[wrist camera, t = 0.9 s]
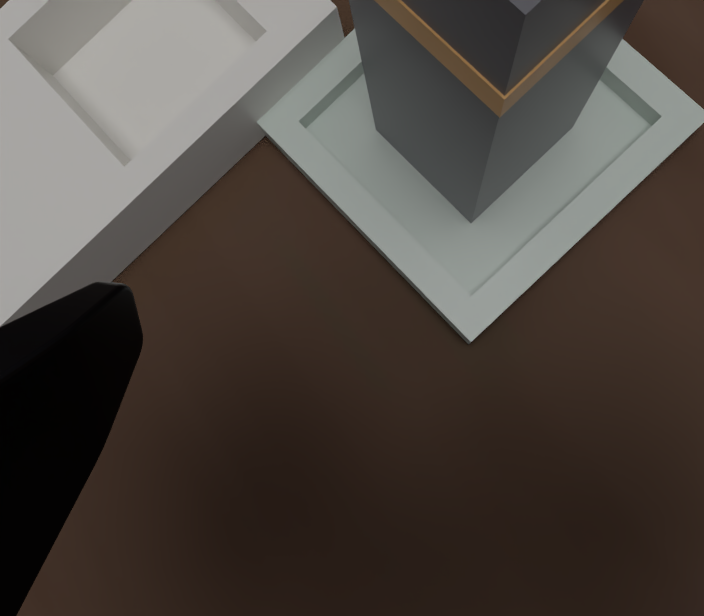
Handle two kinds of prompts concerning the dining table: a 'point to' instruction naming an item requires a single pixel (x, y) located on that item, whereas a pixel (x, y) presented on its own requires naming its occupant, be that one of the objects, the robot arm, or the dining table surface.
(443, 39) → the dark grey square canister
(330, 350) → the dining table surface
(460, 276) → the tray
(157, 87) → the pdu strip
